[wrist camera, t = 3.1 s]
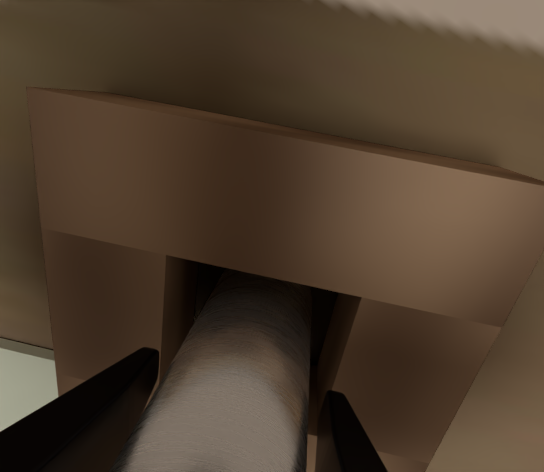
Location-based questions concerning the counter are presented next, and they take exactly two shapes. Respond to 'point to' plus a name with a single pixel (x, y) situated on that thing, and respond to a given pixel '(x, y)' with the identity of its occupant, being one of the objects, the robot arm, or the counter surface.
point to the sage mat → (24, 380)
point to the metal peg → (233, 386)
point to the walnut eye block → (280, 250)
